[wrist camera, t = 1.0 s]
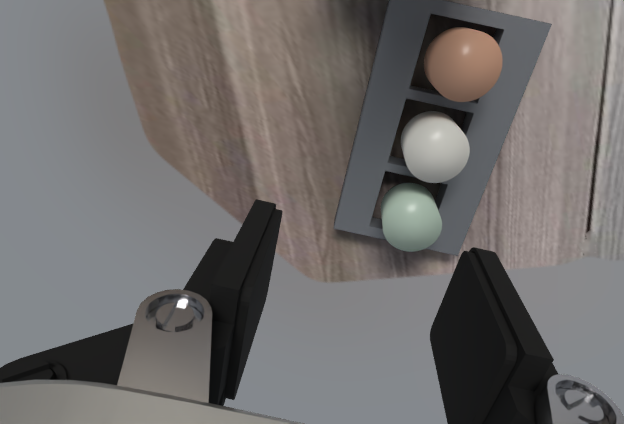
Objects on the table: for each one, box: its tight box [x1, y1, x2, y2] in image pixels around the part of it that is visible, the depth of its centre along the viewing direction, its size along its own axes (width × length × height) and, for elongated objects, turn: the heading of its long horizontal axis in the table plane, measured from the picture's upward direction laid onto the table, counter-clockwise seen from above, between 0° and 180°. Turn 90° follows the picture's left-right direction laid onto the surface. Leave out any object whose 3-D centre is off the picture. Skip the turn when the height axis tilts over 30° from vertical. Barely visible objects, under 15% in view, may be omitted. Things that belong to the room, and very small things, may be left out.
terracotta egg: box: [424, 27, 503, 102], centre depth 38 cm, size 6×6×4 cm
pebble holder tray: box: [334, 0, 552, 256], centre depth 44 cm, size 14×24×2 cm, turn 169°
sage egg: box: [381, 183, 442, 252], centre depth 44 cm, size 6×6×4 cm
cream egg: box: [401, 111, 470, 183], centre depth 41 cm, size 6×6×4 cm
